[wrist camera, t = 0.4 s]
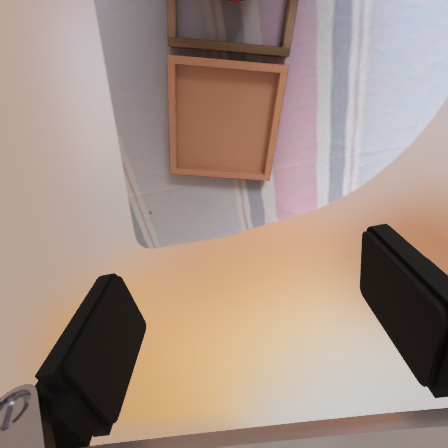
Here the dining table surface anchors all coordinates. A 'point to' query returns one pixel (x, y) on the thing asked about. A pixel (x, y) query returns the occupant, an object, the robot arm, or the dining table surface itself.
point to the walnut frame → (230, 46)
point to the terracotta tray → (223, 116)
